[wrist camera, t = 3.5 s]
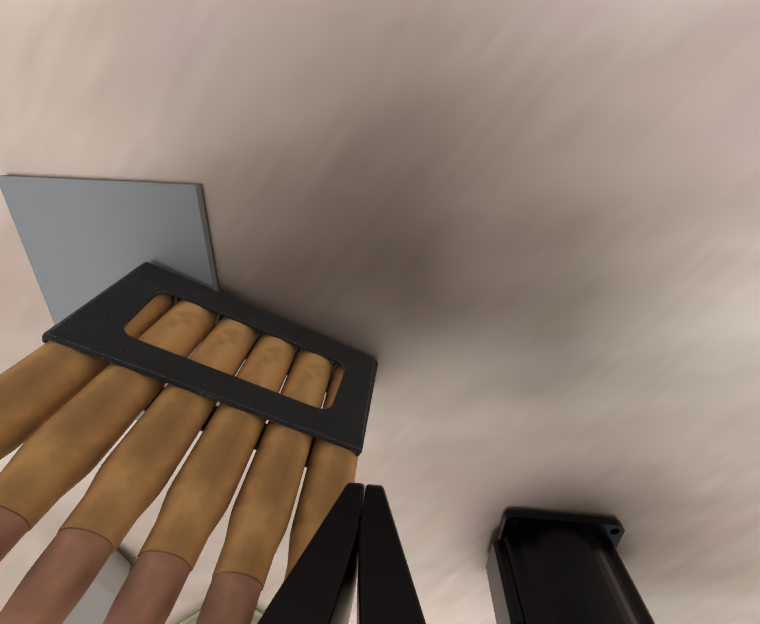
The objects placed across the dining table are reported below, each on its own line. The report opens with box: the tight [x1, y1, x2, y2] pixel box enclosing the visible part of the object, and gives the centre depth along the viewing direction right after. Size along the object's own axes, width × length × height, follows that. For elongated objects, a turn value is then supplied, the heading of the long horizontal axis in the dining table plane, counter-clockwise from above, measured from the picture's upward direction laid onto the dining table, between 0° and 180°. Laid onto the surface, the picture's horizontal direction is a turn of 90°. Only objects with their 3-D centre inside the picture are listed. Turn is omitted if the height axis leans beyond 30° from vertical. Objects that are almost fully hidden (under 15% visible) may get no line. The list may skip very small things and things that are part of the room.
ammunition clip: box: [0, 262, 378, 624], centre depth 11 cm, size 11×2×12 cm, turn 64°
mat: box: [0, 175, 220, 420], centre depth 16 cm, size 8×12×1 cm, turn 178°
